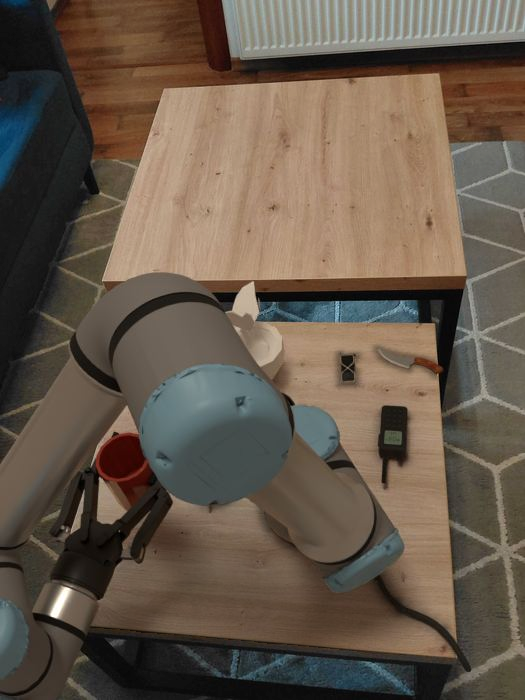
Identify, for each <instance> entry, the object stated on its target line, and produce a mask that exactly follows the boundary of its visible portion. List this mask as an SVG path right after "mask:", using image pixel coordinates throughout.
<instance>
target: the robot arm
mask: <svg viewBox="0 0 525 700" xmlns="http://www.w3.org/2000/svg"><path fill="white" fill-rule="evenodd" d="M225 312H226V311H225V309H224V307H223V306H222V304H221V302H220V301H219V300H218V298H217V297H216V296H215V295H214V294H213V293H212V292H211V290H210V289H208V288H207V287H206V286H204V284H202V283H200V282H198V281H196V280H194V279H192V278H190V277H189V276H186V275H183V274H179V273H173V272H166V271H158V272H148V273H143V274H139V275H137V276H133V277H130V278H128V279H126V280H124V281H122V282H121V283H119V284H117V285H115V286H114V287H113V288H112V289H110V290H109V291H107V292H106V293H105V294H104V295H103V296H101V297H100V299H99V300H97V302H95V303H94V305H93V306H92V307H91V308H90V310H89V311H88V312H87V313H86V314H85V316H84V317H83V319H82V320H81V322H80V323H79V325H78V326H77V328H76V329H75V331H74V332H73V334H72V335H71V337H70V339H69V341H68V345H67V348H68V353H69V356H70V357H69V359H68V360H67V362H66V363H65V365H64V366H63V368H62V369H61V371H60V373H59V374H58V375H57V377H56V379H55V380H54V382H53V383H52V385H51V386H50V388H49V389H48V391H47V392H46V394H45V395H44V397H43V398H42V400H41V401H40V403H39V405H38V406H37V408H36V409H35V410H34V412H33V413H32V415H31V416H30V418H29V420H28V421H27V423H26V424H25V426H24V427H23V429H22V430H21V432H20V434H19V435H18V436H17V438H16V440H15V441H14V443H13V444H12V445H11V447H10V449H9V451H8V452H7V453H6V455H5V456H4V458H3V459H2V461H1V462H0V700H61V698H62V695H63V692H64V689H65V687H66V684H67V681H68V680H69V677H70V675H71V673H72V670H73V668H74V666H75V663H76V660H77V658H78V656H79V654H80V651H81V649H82V646H83V644H84V642H85V640H86V638H87V636H88V633H89V631H90V629H91V627H92V625H93V622H94V620H95V617H96V615H97V613H98V611H99V608H100V604H99V602H98V601H101V600H103V599H104V597H105V595H106V593H107V591H108V588H109V586H110V584H111V582H112V579H113V576H114V573H115V570H116V568H117V567H118V566H119V564H121V563H122V561H134V563H136V564H138V565H139V564H142V563H143V562H144V560H145V557H146V556H145V555H146V551H147V548H148V546H149V545H150V542H151V541H152V539H153V537H155V534H156V533H157V531H158V529H159V528H160V526H161V525H162V523H163V521H164V519H165V518H166V516H167V514H168V513H169V511H170V510H171V508H172V505H174V501H173V498H172V497H171V496H173V497H174V498H176V499H178V500H180V501H182V502H186V503H187V504H191V505H196V506H209V505H211V504H212V503H211V502H212V501H215V500H216V502H217V503H216V504H217V505H219V506H221V505H225V504H230V503H233V502H237V501H239V500H242V499H245V498H246V499H247V500H249V501H250V502H251V503H253V504H254V505H255V506H257V507H258V508H260V510H262V511H263V513H264V517H265V520H266V522H267V524H268V526H269V527H270V529H271V530H272V531H273V532H274V533H275V535H276V536H278V537H279V538H280V539H282V540H283V541H285V542H287V543H290V544H292V545H294V547H295V548H296V549H297V550H298V551H299V552H300V553H301V554H303V555H304V556H305V557H306V558H308V559H309V560H310V561H312V562H313V563H314V564H315V565H316V567H317V569H318V571H319V572H320V574H321V576H322V581H323V582H324V583H325V584H326V586H327V587H328V588H329V590H330V591H331V592H332V593H335V594H343V593H347V592H351V591H353V590H355V589H357V588H359V587H361V586H363V585H365V584H367V583H368V582H370V581H372V580H373V579H374V580H375V581H376V583H377V585H378V587H379V589H380V591H381V593H382V594H383V596H384V597H385V598H386V599H387V601H388V603H390V604H391V606H393V607H394V608H395V609H396V610H398V611H399V612H401V613H403V614H405V615H407V616H409V617H411V618H414V619H416V620H419V621H421V622H423V623H426V624H428V625H429V626H431V627H432V628H434V629H435V630H436V631H437V632H438V633H439V634H441V636H442V637H443V638H444V639H445V640H446V642H447V644H448V645H449V646H450V647H451V649H452V650H453V652H454V654H455V655H456V657H457V659H458V661H459V662H460V664H461V666H462V668H463V669H464V671H465V672H467V673H471V672H472V667H471V665H470V662H469V661H468V659H467V658H466V655H465V654H464V652H463V651H462V649H461V647H460V645H459V644H458V643H457V641H456V639H455V638H454V637H453V636H452V634H451V633H450V632H449V631H448V630H447V628H445V627H444V626H443V625H442V624H441V623H440V622H438V621H437V620H435V619H434V618H432V617H431V616H428V615H426V614H424V613H421V612H418V611H417V610H414V609H412V608H409V607H407V606H405V605H404V604H402V603H401V602H400V601H398V600H397V599H396V598H395V597H394V596H393V594H392V593H391V592H390V591H389V589H388V587H387V586H386V583H385V582H384V580H383V578H382V576H381V574H383V573H384V572H385V571H386V570H388V569H389V568H390V567H391V566H393V565H394V564H395V563H396V562H397V561H398V560H399V559H400V558H401V557H402V555H403V554H404V552H405V542H404V540H403V539H402V537H401V535H400V533H399V529H398V528H397V527H395V526H394V524H393V522H392V521H391V519H390V518H389V516H388V515H387V513H386V511H385V509H384V508H383V507H382V505H381V504H380V502H379V501H378V500H377V499H378V498H377V497H376V496H375V495H374V493H373V491H372V490H371V488H370V487H369V485H368V483H367V482H366V481H365V479H364V478H363V476H362V475H361V473H360V471H359V470H358V469H357V468H356V466H355V464H354V462H353V461H352V459H351V458H350V456H349V455H348V453H347V451H346V450H345V448H344V447H343V445H342V444H341V441H340V440H341V434H340V430H339V427H338V425H337V422H336V420H335V419H334V418H333V416H332V415H331V414H330V413H328V412H327V411H326V410H324V409H323V408H320V407H318V406H316V405H315V406H314V405H311V406H310V405H307V404H295V405H294V406H291V405H290V403H289V402H288V400H287V399H286V397H285V396H284V395H283V393H284V392H282V391H281V390H280V388H278V386H277V385H276V384H275V383H274V381H273V380H272V381H271V379H270V378H269V377H268V376H267V375H266V374H265V373H264V371H263V370H262V369H261V368H260V366H259V365H258V364H257V362H256V361H255V360H254V358H253V357H252V355H251V354H250V352H249V351H248V349H247V348H246V346H245V344H244V343H243V341H242V340H241V338H240V336H239V335H238V333H237V331H236V330H235V326H234V325H232V323H231V321H230V320H229V318H228V317H227V315H226V313H225ZM126 407H127V408H128V411H129V413H130V416H131V418H132V420H133V423H134V426H135V428H136V430H137V434H139V439H140V444H141V448H142V451H143V454H144V457H145V459H146V460H147V461H148V463H149V466H150V468H151V469H152V470H153V472H152V474H151V476H150V479H149V481H148V482H149V484H150V486H151V487H150V488H149V490H148V491H147V492H146V493H145V494H144V495H143V496H142V497H141V498H140V499H139V500H138V501H137V502H136V503H135V504H134V505H133V506H132V507H131V508H130V509H129V510H128V511H127V510H126V512H125V513H123V514H122V516H120V518H118V519H116V520H115V521H114V522H112V523H107V522H106V523H102V522H101V521H99V520H98V510H99V509H98V508H99V495H100V494H99V493H100V492H99V491H100V479H102V478H101V476H100V475H99V473H98V470H97V468H96V457H95V458H94V460H93V463H92V464H91V466H87V467H85V469H84V470H83V472H82V471H80V469H82V467H83V465H84V464H85V463H86V461H87V460H88V459H89V458H90V456H91V455H92V454H93V452H94V451H95V449H96V448H97V447H98V446H99V444H100V442H101V441H102V440H103V438H104V437H105V436H106V434H107V433H108V432H109V430H110V429H111V428H112V426H113V425H114V424H115V423H116V421H117V419H118V418H120V417H119V416H121V414H122V413H123V411H124V410H125V409H126ZM118 434H120V433H119V432H118V431H113V433H112V435H111V436H110V438H112V437H114V436H116V435H118ZM67 487H68V488H67ZM66 488H67V491H66V494H65V497H64V500H63V502H62V505H61V508H60V511H59V514H58V517H57V519H56V521H55V522H54V523H53V525H52V526H51V527H50V529H49V531H48V533H49V535H50V536H51V538H52V539H53V540H54V541H55V542H56V543H63V544H64V545H63V551H62V552H60V554H59V555H58V558H57V559H56V561H55V563H54V565H53V568H52V570H51V571H50V573H49V577H48V578H49V580H50V582H46V583H44V585H43V587H42V589H41V592H40V593H39V596H38V598H37V599H36V602H35V603H34V606H33V608H32V604H31V599H30V595H29V590H28V587H27V582H26V577H25V571H24V566H23V562H22V561H23V560H22V557H21V550H22V549H23V548H24V546H25V545H26V543H27V542H28V540H29V539H30V537H31V535H32V534H33V533H34V532H35V530H36V529H37V528H38V527H39V525H40V524H41V522H42V521H43V520H44V519H45V517H46V515H47V514H48V513H49V511H50V510H51V509H52V508H53V506H54V504H55V503H56V502H57V501H58V499H59V498H60V496H61V495H62V494H63V493H64V491H65V490H66ZM165 489H166V490H167V491H164V490H165ZM82 498H83V505H82V513H81V514H80V525H79V528H77V530H75V531H73V532H72V527H73V525H74V522H75V519H76V516H77V514H78V510H79V507H80V504H81V501H82ZM144 518H145V519H144ZM143 519H144V521H143V522H142V524H141V526H140V527H139V528H138V530H137V532H136V534H135V535H134V537H133V539H132V542H129V543H128V545H127V547H126V548H125V549H124V547H123V543H124V542H125V541H126V540H127V539H128V538H129V536H130V535H131V533H132V531H133V530H134V529H135V528H136V527H137V526H138V525H139V523H140V522H141V521H142V520H143Z"/></svg>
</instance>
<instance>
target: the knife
mask: <svg viewBox="0 0 525 700" xmlns="http://www.w3.org/2000/svg"><path fill="white" fill-rule="evenodd" d="M377 351H378V353H379V354H380V356H381V357H382V358H383V359H385V360H386V361H387V362H390V363H391V364H394V365H396V366H399V367H401V368H405V369H410V367H411V365H419V366H422V367H426V368H427V369H430V370H431V371H432V372H433V373H435V374H436V375H438V374H441V373H443V372H444V368H443V367H442V366H440V365H439V364H438V363H436V362H434V361H432V360H429V359H426V358H424V357H423V358H422V357H412V356H404V355H398V354H394V353H390V352H388V351H385V350H381V349H377Z"/></svg>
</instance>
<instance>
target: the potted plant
mask: <svg viewBox="0 0 525 700" xmlns="http://www.w3.org/2000/svg"><path fill="white" fill-rule="evenodd" d="M260 312H261V299H260V298H258V299H257V296H256V286H255V281H254V280H252V281H251V282H249V283H247V284H246V285H244V286H243V287H241V289H240V290H239V292H238V293H237V294H236V296H235V299H234V302H233V305H232V309H231V310H228V311H225V313H226V315H227V317H228V318H229V320H230V321H231V323H232V325H233V327H234V328H235V330H236V331H237V333H238V335H239V336H240V338H241V340H242V341H243V343H244V344H245V346H246V348H247V349H248V351H249V352H250V354H251V355H252V357H253V358H254V360H255V361H256V362H257V364H258V365H259V366H260V368H261V369H262V370H263V371H264V373H265V374H266V375H267V376H268V377H269V378H270V379H271V381H272V382H273V380H274V379H275V377H276V375H277V372H278V371H279V370H280V368H282V366H283V365H284V363H285V346H284V340H283V336H282V334H281V333H280V332H279V330H278V329H277V328H276V327H275V326H273V325H271V324H268V323H266V322H263V321H256V320H258V317H259V315H260ZM265 317H266V318H267V317H268V314H267V312H265Z"/></svg>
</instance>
